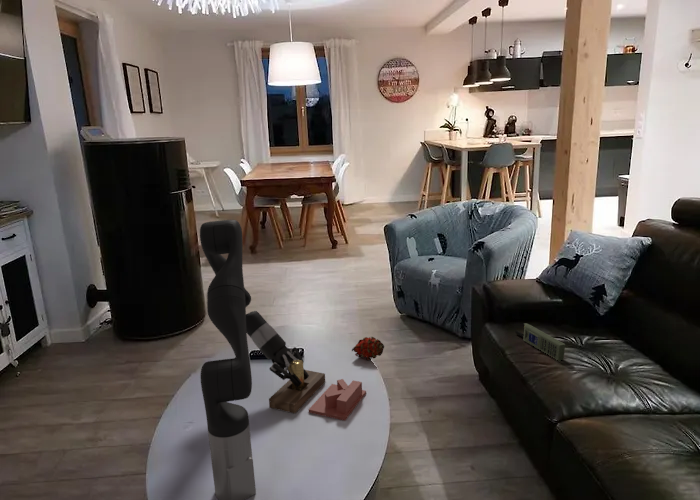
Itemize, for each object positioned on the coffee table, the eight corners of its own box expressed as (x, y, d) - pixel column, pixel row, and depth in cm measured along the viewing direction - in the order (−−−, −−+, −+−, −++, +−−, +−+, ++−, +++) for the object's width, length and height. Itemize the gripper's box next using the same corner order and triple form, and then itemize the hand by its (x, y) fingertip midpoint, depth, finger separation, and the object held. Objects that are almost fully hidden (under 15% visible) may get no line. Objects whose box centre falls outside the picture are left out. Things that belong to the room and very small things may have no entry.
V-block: (308, 412, 149) (307, 397, 148) (332, 386, 163) (331, 372, 162) (345, 420, 144) (344, 405, 143) (366, 393, 158) (365, 379, 157)
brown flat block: (269, 407, 152) (268, 398, 151) (301, 377, 170) (301, 369, 169) (295, 413, 148) (294, 404, 148) (325, 381, 166) (324, 373, 165)
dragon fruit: (387, 361, 182) (355, 367, 182) (383, 341, 187) (352, 346, 188) (385, 351, 175) (351, 356, 176) (381, 330, 181) (349, 335, 181)
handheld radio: (557, 362, 174) (512, 335, 197) (564, 361, 175) (519, 334, 198) (559, 345, 173) (513, 319, 196) (567, 343, 174) (520, 318, 197)
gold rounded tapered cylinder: (307, 394, 159) (305, 362, 156) (296, 398, 156) (294, 367, 154) (300, 389, 162) (298, 358, 159) (290, 393, 159) (287, 362, 157)
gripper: (261, 343, 151) (299, 386, 149) (286, 325, 163) (320, 365, 162) (248, 356, 154) (285, 398, 153) (273, 338, 167) (307, 377, 165)
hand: (303, 381), depth 157 cm, fingers closed on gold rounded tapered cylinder, 4 cm apart
